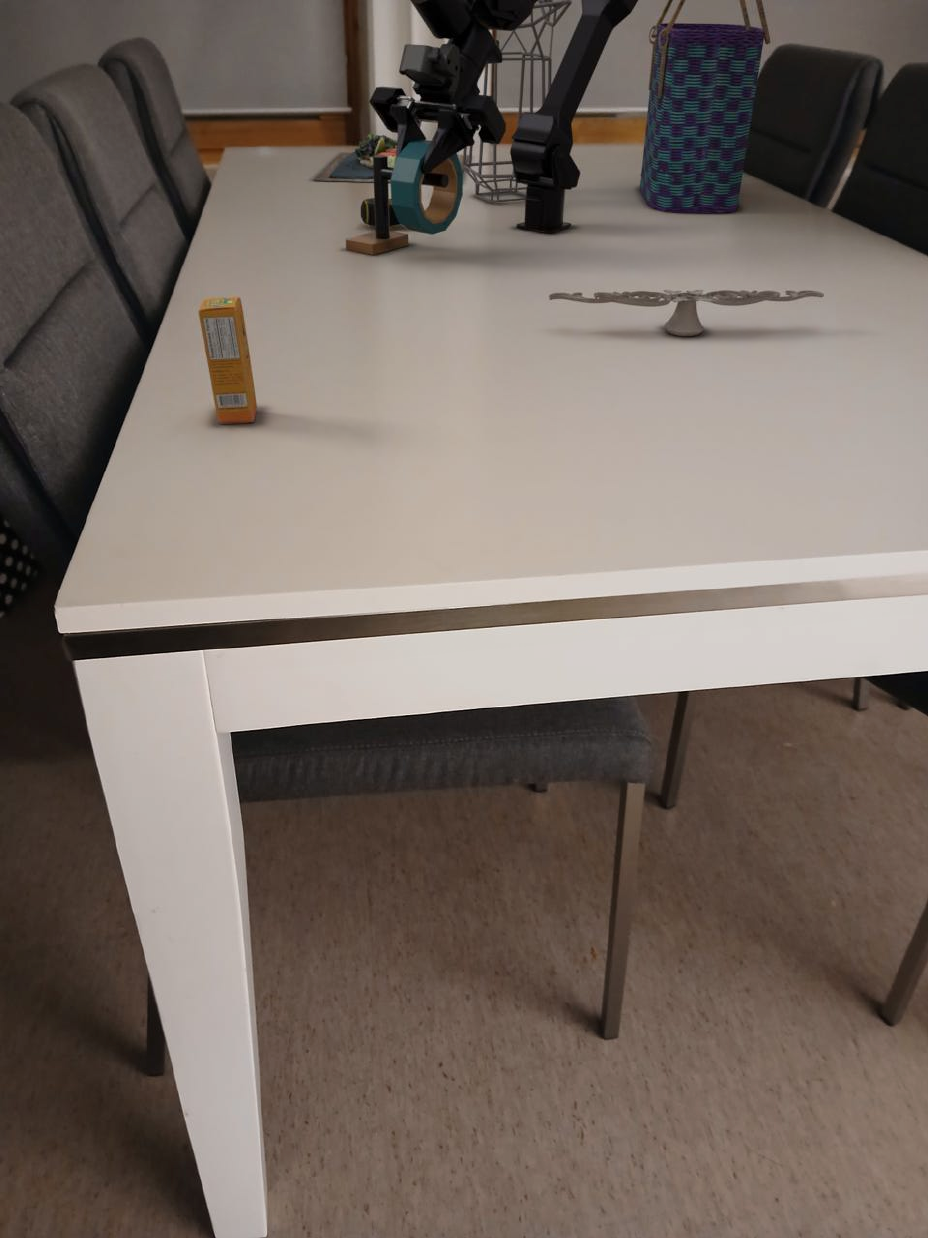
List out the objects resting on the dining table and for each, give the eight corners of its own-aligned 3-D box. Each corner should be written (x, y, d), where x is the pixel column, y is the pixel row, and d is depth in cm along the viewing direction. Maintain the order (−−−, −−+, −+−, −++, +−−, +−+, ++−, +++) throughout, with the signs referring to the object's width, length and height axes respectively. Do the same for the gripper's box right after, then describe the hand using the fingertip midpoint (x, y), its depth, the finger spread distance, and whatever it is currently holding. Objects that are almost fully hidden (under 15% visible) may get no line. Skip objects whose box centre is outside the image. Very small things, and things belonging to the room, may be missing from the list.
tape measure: (410, 229, 148) (410, 203, 146) (366, 232, 146) (365, 205, 144) (399, 220, 153) (398, 195, 151) (356, 223, 152) (355, 197, 150)
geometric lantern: (528, 188, 178) (539, -41, 159) (563, 205, 166) (579, -42, 146) (447, 192, 174) (448, -43, 154) (477, 209, 161) (481, -44, 142)
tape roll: (440, 222, 137) (440, 136, 131) (462, 225, 135) (463, 138, 129) (392, 236, 129) (389, 145, 123) (414, 240, 127) (412, 148, 121)
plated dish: (462, 184, 181) (462, 140, 177) (313, 183, 182) (310, 140, 178) (468, 157, 210) (468, 119, 206) (340, 157, 211) (337, 119, 207)
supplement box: (218, 410, 86) (203, 295, 80) (257, 409, 86) (245, 295, 81) (213, 424, 83) (197, 307, 78) (254, 423, 83) (240, 306, 78)
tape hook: (382, 245, 139) (379, 154, 132) (449, 258, 133) (449, 163, 127) (373, 248, 138) (369, 156, 131) (440, 261, 132) (440, 165, 125)
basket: (748, 214, 161) (797, -82, 139) (643, 211, 162) (675, -83, 140) (721, 186, 183) (759, -74, 161) (629, 184, 183) (654, -75, 161)
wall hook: (823, 340, 106) (833, 301, 104) (549, 339, 104) (553, 300, 101) (808, 325, 110) (817, 287, 107) (543, 323, 108) (546, 285, 105)
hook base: (381, 239, 142) (381, 229, 141) (408, 244, 140) (408, 233, 139) (346, 249, 137) (345, 238, 136) (373, 255, 134) (372, 243, 133)
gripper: (375, 14, 124) (323, 119, 122) (496, 19, 115) (441, 132, 114) (414, 80, 134) (366, 177, 132) (528, 89, 125) (478, 194, 123)
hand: (410, 169), depth 125 cm, fingers closed on tape roll, 4 cm apart
